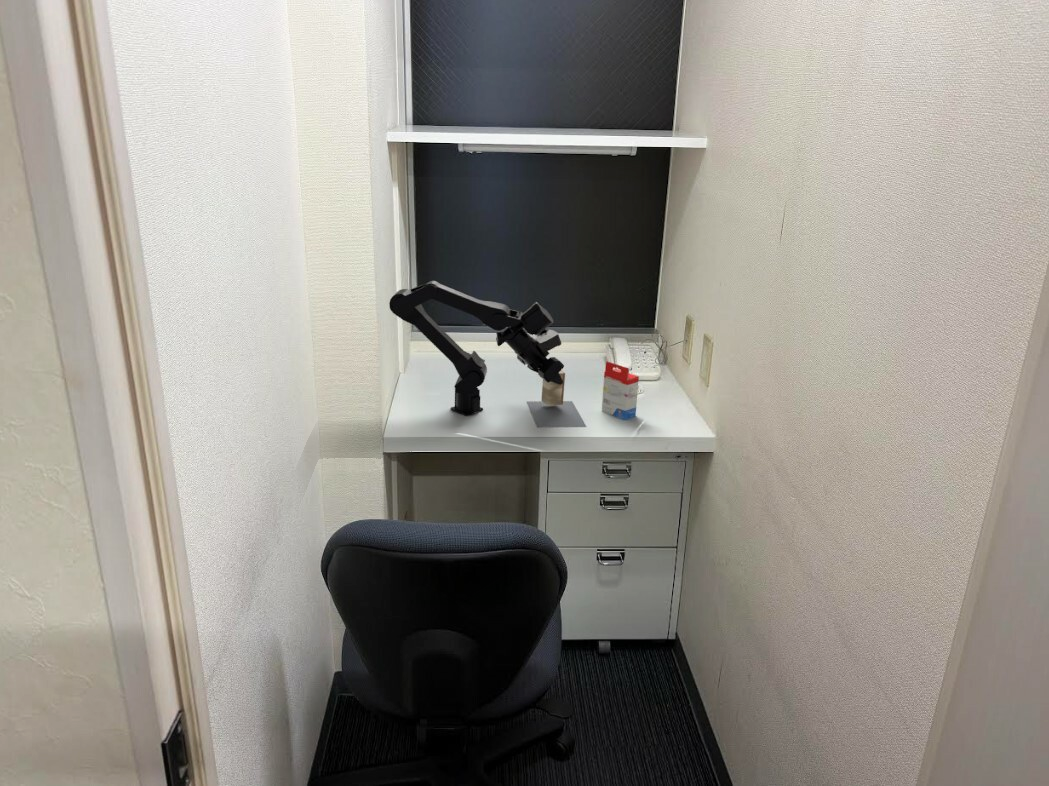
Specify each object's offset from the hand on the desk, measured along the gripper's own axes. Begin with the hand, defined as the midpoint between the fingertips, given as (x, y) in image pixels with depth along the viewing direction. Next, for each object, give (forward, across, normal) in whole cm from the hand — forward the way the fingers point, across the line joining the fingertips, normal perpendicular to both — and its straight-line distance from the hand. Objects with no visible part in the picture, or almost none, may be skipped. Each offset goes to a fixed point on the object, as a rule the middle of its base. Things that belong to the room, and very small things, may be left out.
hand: (558, 380), depth 214 cm
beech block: (+3, 0, +5) cm, 6 cm away
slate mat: (+4, -4, +7) cm, 10 cm away
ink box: (+16, -9, -4) cm, 19 cm away
